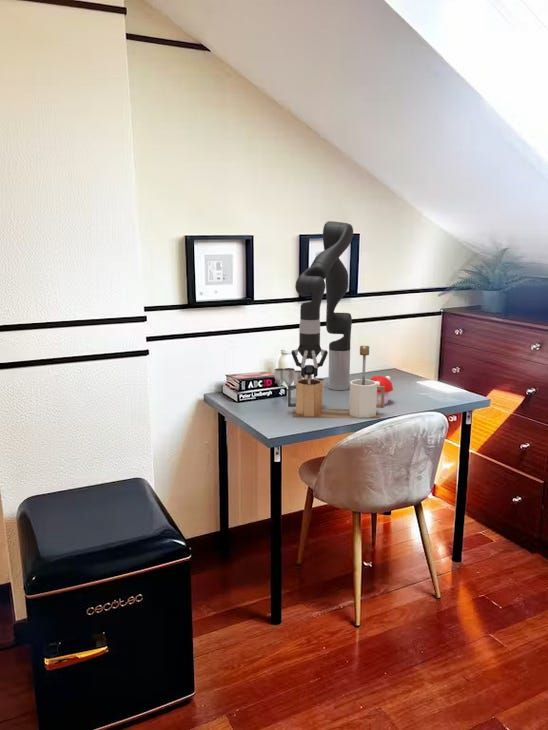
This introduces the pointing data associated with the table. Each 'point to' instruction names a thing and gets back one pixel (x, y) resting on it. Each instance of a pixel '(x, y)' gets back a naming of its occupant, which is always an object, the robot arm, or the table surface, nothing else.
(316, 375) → the robot arm
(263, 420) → the table surface
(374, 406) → the cream press
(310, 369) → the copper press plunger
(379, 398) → the mushroom
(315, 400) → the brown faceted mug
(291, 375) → the goblet set
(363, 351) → the brown plunger
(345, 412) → the board
